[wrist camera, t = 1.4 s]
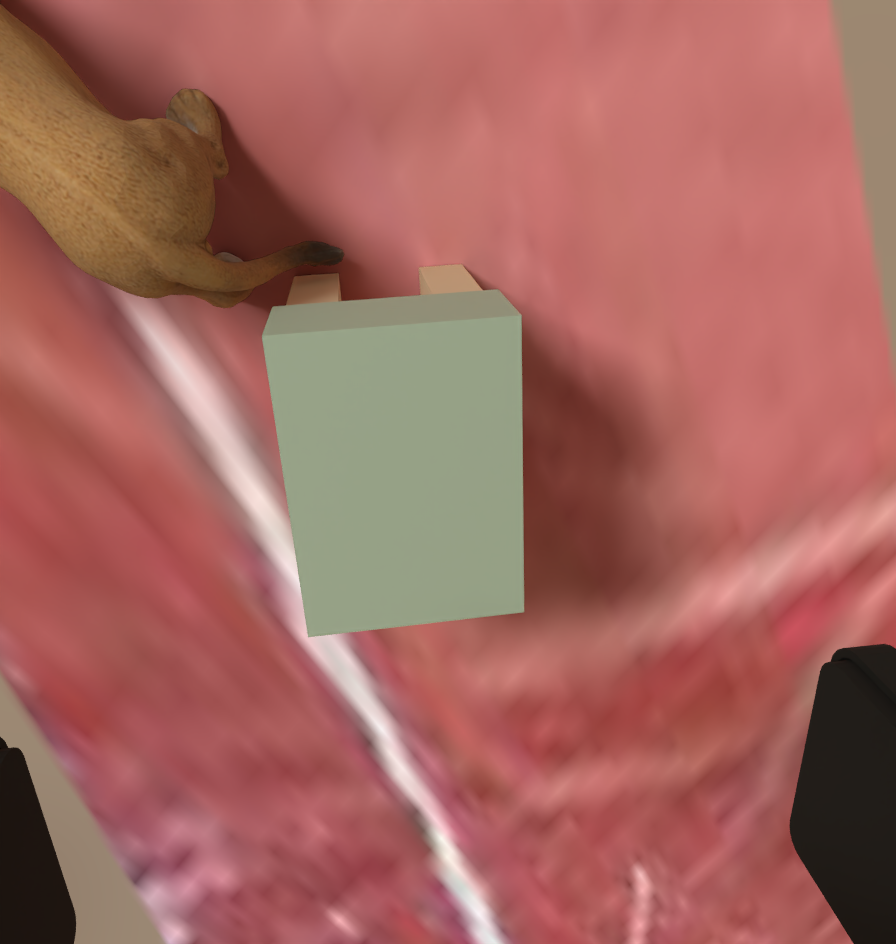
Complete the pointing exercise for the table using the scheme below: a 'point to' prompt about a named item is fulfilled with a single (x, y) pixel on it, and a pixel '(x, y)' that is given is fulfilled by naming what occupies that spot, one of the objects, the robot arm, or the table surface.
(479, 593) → the sage stool
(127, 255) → the lion figurine
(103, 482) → the table surface
